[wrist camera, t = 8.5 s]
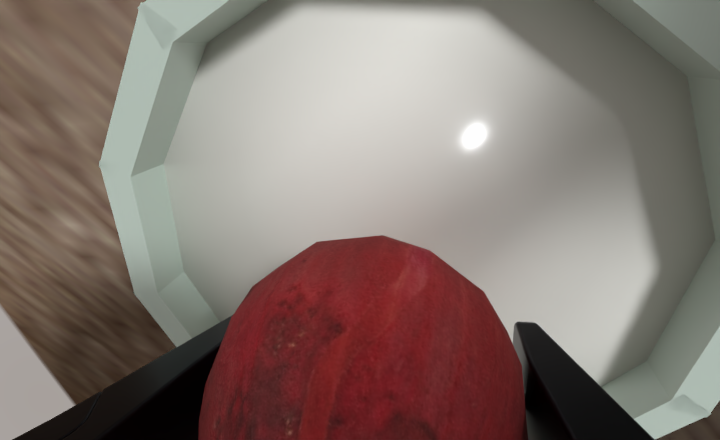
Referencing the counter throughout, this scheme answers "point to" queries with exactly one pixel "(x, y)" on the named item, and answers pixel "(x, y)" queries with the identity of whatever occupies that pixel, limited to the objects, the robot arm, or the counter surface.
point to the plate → (440, 165)
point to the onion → (365, 353)
